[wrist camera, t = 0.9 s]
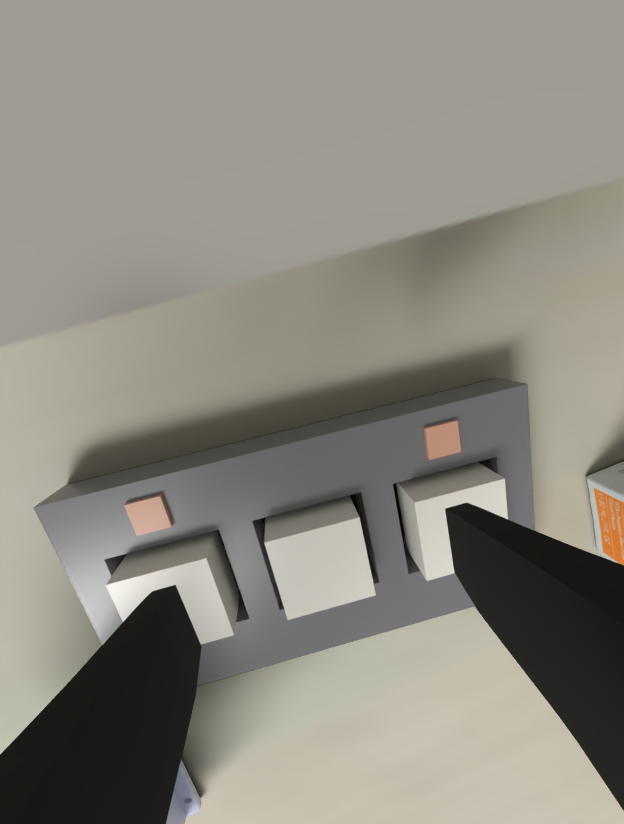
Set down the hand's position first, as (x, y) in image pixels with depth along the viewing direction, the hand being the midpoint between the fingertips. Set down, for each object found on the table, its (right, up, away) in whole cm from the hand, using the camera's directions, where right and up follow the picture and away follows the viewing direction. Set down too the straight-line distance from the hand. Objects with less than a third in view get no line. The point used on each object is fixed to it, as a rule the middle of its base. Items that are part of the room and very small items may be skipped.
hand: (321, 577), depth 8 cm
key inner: (-7, -4, +9) cm, 12 cm away
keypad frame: (0, -2, +10) cm, 10 cm away
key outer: (+7, -1, +9) cm, 11 cm away
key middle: (0, -2, +10) cm, 10 cm away
